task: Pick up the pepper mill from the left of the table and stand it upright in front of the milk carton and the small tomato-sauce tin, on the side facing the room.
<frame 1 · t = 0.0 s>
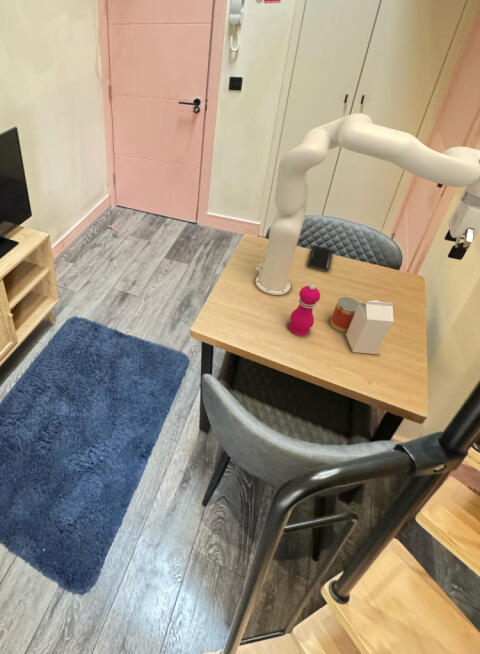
hand: (452, 249, 118), 31 cm above the table, tool pointing down, fingers open, 9 cm apart
pepper mill: (298, 329, 137), on the table
milk carton: (360, 345, 130), on the table
phone: (319, 259, 166), on the table
sauce tin: (340, 324, 137), on the table
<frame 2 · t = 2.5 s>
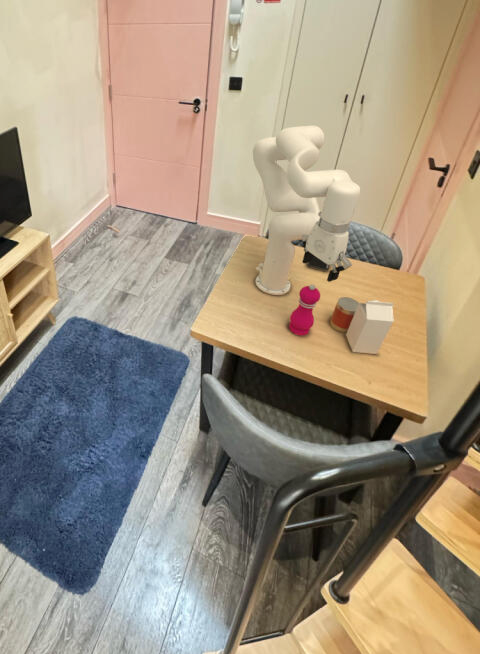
hand: (318, 270, 122), 26 cm above the table, tool pointing down, fingers open, 9 cm apart
nothing on the table moved.
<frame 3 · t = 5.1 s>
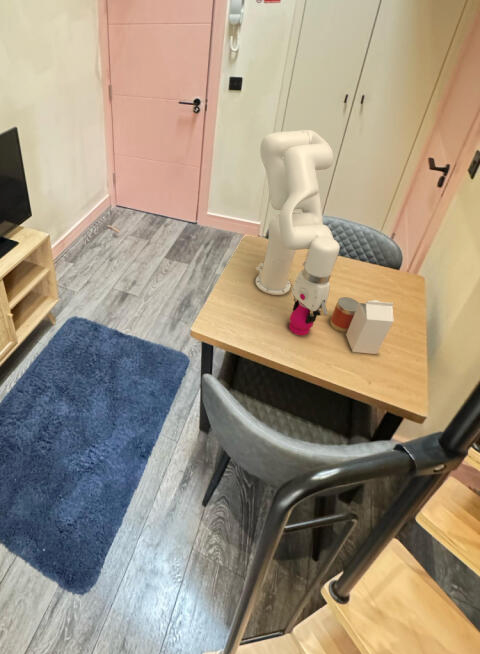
hand: (303, 315, 133), 7 cm above the table, tool pointing down, fingers closed on pepper mill, 5 cm apart
pepper mill: (298, 329, 137), on the table, touching gripper
everything else where it was.
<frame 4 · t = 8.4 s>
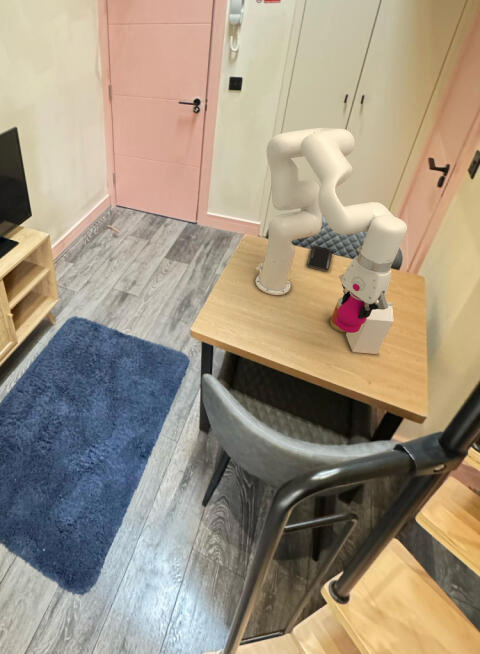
hand: (354, 309, 115), 21 cm above the table, tool pointing down, fingers closed on pepper mill, 5 cm apart
pepper mill: (347, 325, 119), point 14 cm above the table, touching gripper
everything else where it was.
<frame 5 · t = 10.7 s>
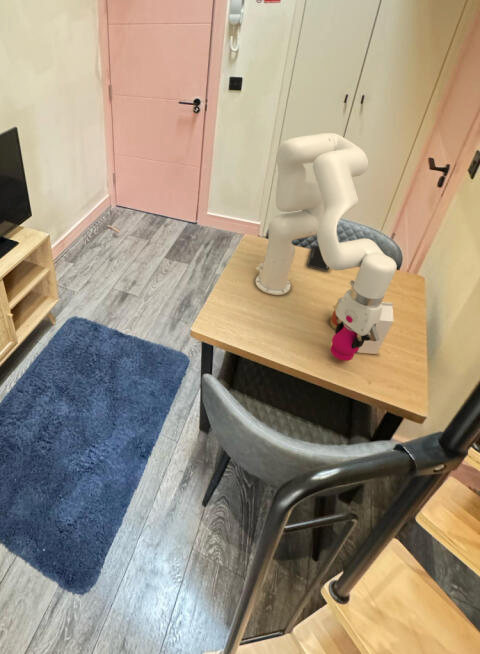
hand: (347, 339, 120), 10 cm above the table, tool pointing down, fingers closed on pepper mill, 5 cm apart
pepper mill: (341, 353, 124), point 3 cm above the table, touching gripper
everything else where it was.
when the fingers open (7 cm above the table, at t = 12.0 s): pepper mill stays where it is, on the table.
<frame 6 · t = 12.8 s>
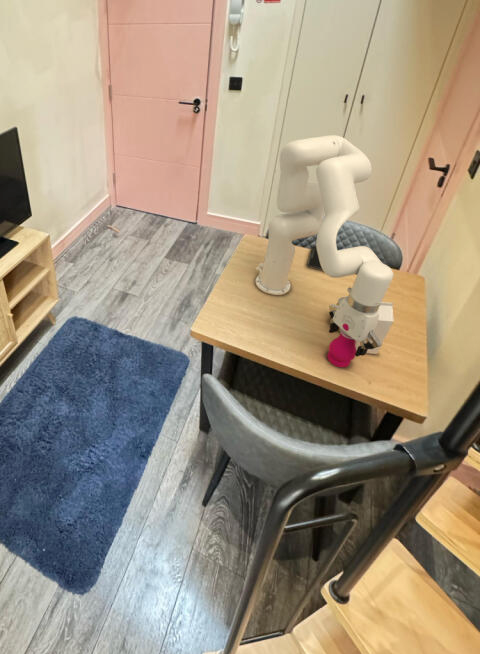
hand: (345, 342, 121), 8 cm above the table, tool pointing down, fingers open, 9 cm apart
pepper mill: (338, 359, 126), on the table
everything else where it was.
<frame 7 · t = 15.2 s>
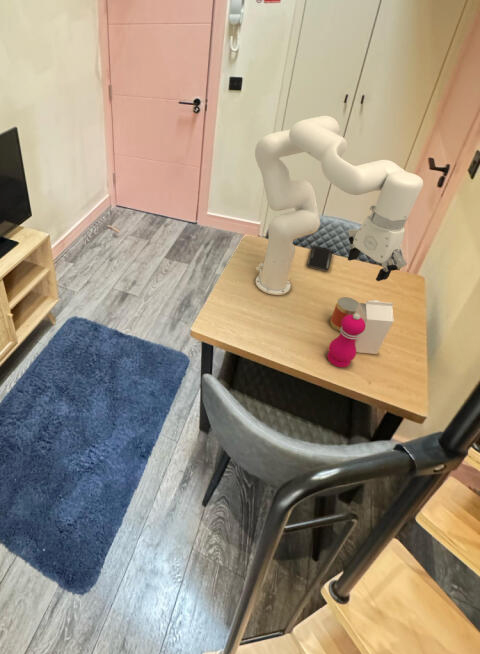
hand: (366, 269, 113), 31 cm above the table, tool pointing down, fingers open, 9 cm apart
nothing on the table moved.
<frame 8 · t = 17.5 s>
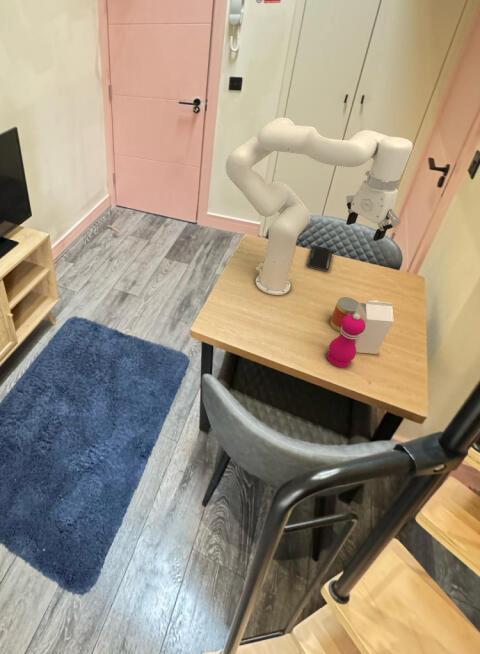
hand: (363, 231, 123), 34 cm above the table, tool pointing down, fingers open, 9 cm apart
nothing on the table moved.
at the end: pepper mill inside the target area on the table beside the milk carton (0.3 cm from its centre), on the table; pepper mill tilted 0°; milk carton moved 0.2 cm from its start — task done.
